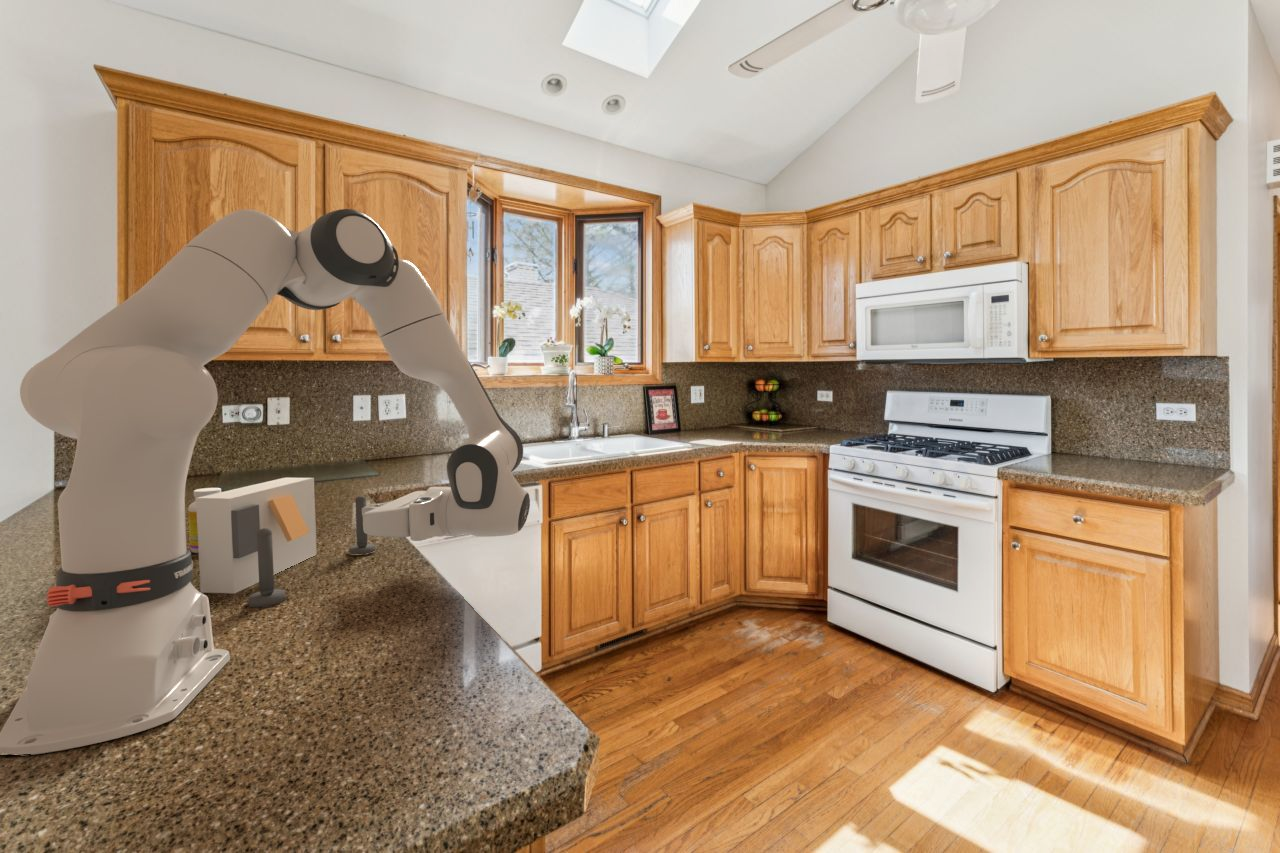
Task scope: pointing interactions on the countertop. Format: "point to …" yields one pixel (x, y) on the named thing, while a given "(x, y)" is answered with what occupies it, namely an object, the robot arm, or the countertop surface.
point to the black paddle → (245, 530)
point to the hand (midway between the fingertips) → (365, 510)
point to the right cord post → (361, 530)
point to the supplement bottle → (193, 516)
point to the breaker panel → (217, 528)
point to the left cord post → (266, 574)
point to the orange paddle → (288, 517)
